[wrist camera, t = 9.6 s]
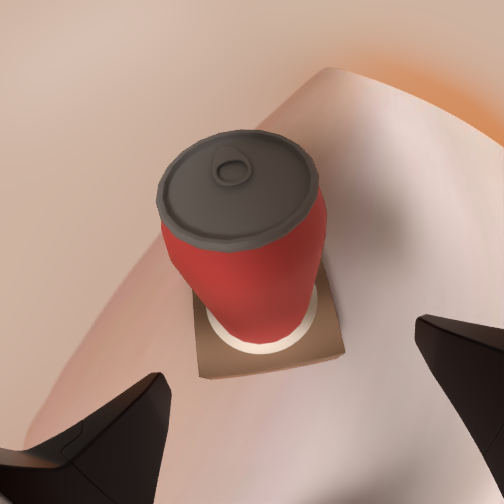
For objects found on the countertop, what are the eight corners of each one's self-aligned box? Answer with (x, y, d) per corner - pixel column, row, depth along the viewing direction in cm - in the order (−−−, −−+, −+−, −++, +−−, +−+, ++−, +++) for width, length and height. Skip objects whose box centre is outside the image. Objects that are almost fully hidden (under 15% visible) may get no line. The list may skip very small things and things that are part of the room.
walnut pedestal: (337, 358, 19) (346, 351, 17) (210, 379, 20) (198, 376, 17) (309, 248, 24) (312, 228, 22) (200, 267, 25) (190, 249, 22)
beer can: (290, 248, 21) (290, 109, 11) (321, 328, 18) (372, 225, 7) (207, 273, 21) (141, 149, 10) (227, 357, 17) (146, 293, 7)
